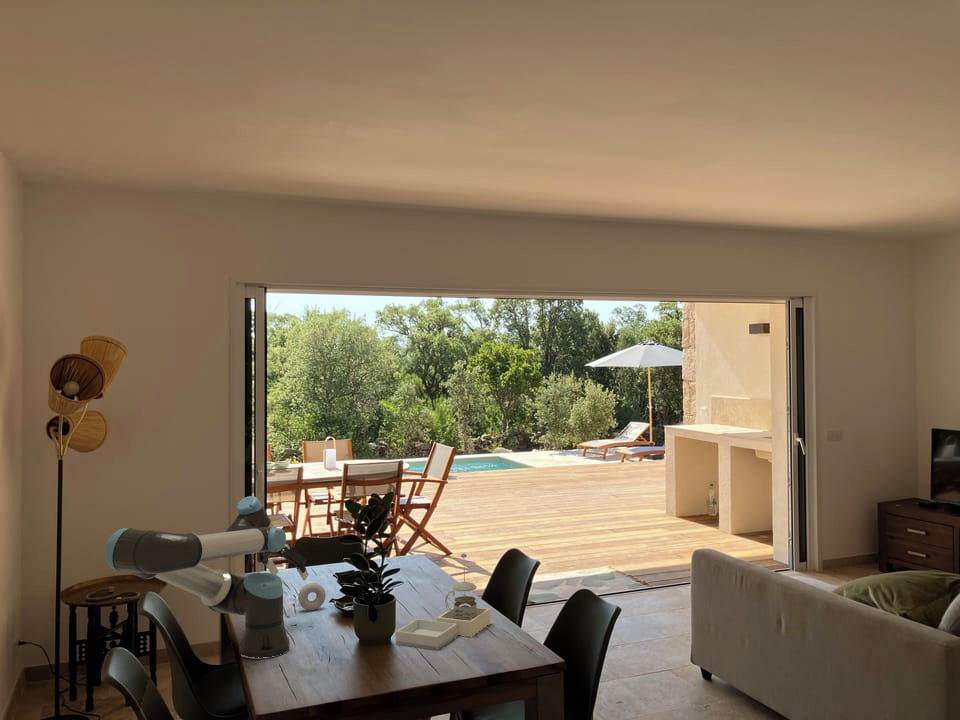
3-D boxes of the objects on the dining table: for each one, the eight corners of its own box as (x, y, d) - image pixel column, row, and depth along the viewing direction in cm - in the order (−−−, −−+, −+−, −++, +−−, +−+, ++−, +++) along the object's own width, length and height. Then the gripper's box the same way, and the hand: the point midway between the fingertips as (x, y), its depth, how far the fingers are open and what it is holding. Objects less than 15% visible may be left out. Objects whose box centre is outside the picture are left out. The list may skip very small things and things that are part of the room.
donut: (324, 607, 284) (324, 580, 284) (326, 609, 281) (326, 582, 281) (297, 611, 280) (297, 583, 280) (299, 613, 277) (298, 586, 277)
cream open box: (471, 637, 246) (471, 621, 246) (437, 632, 252) (436, 617, 252) (490, 623, 259) (490, 608, 259) (457, 619, 265) (457, 605, 265)
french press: (477, 633, 250) (474, 556, 250) (442, 632, 252) (440, 556, 253) (483, 624, 259) (480, 550, 260) (450, 622, 262) (448, 549, 262)
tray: (437, 650, 235) (437, 637, 235) (395, 643, 242) (395, 631, 242) (457, 636, 248) (457, 623, 248) (417, 630, 254) (417, 618, 254)
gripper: (300, 528, 258) (324, 570, 268) (244, 524, 268) (269, 564, 279) (288, 545, 252) (313, 587, 263) (231, 540, 263) (257, 580, 274)
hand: (290, 575), depth 271 cm, fingers open, 13 cm apart
